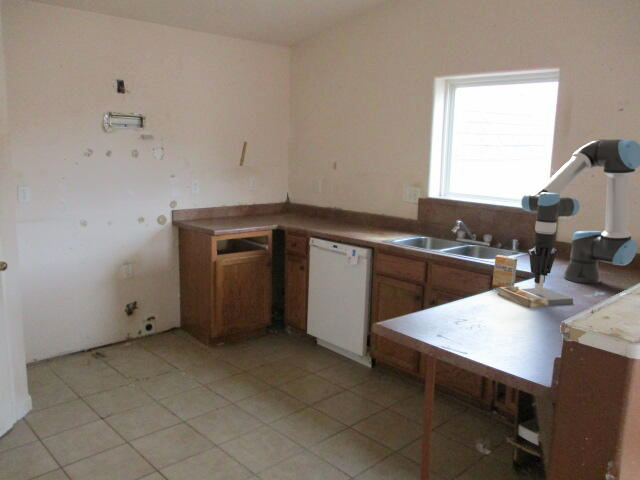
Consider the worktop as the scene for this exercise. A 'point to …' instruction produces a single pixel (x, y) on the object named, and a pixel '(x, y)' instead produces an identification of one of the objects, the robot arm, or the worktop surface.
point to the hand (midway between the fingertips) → (538, 290)
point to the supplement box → (504, 271)
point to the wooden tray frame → (521, 297)
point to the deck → (548, 296)
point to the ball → (521, 293)
